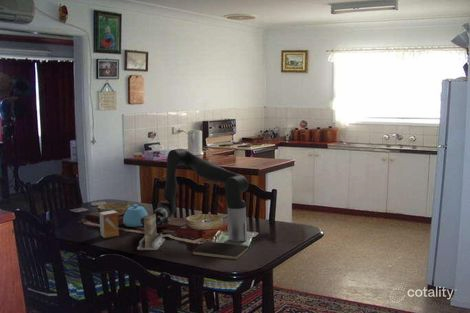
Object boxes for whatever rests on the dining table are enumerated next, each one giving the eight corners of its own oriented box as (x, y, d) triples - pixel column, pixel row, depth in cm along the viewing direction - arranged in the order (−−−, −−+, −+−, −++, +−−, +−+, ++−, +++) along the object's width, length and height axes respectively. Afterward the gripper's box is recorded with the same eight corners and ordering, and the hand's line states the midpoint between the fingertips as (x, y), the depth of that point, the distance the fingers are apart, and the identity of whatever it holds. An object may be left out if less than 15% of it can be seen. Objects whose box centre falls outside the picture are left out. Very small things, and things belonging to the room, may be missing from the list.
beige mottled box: (156, 239, 274) (155, 213, 272) (152, 245, 264) (150, 218, 262) (150, 239, 274) (148, 213, 272) (145, 245, 264) (143, 218, 262)
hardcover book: (236, 260, 244) (236, 256, 244) (192, 255, 253) (191, 250, 253) (249, 250, 259) (249, 245, 258) (206, 245, 268) (206, 240, 267)
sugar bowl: (154, 222, 311) (153, 203, 309) (137, 229, 298) (136, 209, 296) (135, 219, 319) (134, 200, 317) (117, 225, 306) (116, 206, 304)
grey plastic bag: (164, 240, 276) (164, 232, 276) (157, 250, 261) (156, 242, 260) (145, 239, 277) (145, 232, 277) (137, 249, 262) (136, 242, 261)
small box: (104, 238, 282) (103, 214, 280) (100, 235, 287) (99, 212, 285) (119, 235, 286) (117, 212, 284) (114, 233, 291) (113, 209, 289)
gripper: (146, 209, 286) (137, 216, 270) (172, 209, 285) (165, 217, 269) (146, 222, 288) (138, 231, 272) (172, 222, 286) (165, 231, 270)
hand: (151, 224), depth 270 cm, fingers open, 8 cm apart
